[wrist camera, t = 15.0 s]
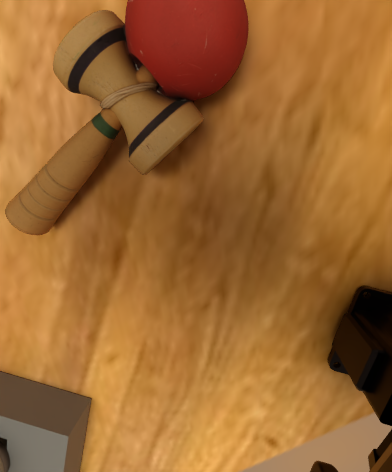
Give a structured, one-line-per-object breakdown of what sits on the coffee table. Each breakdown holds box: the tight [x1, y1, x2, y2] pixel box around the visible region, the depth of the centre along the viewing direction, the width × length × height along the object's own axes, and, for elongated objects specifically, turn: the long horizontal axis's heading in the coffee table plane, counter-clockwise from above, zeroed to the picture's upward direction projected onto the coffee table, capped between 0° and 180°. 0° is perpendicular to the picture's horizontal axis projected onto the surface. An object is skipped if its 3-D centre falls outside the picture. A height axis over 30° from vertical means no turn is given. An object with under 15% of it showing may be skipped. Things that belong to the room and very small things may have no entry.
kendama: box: [5, 0, 248, 235], centre depth 16 cm, size 8×6×18 cm
